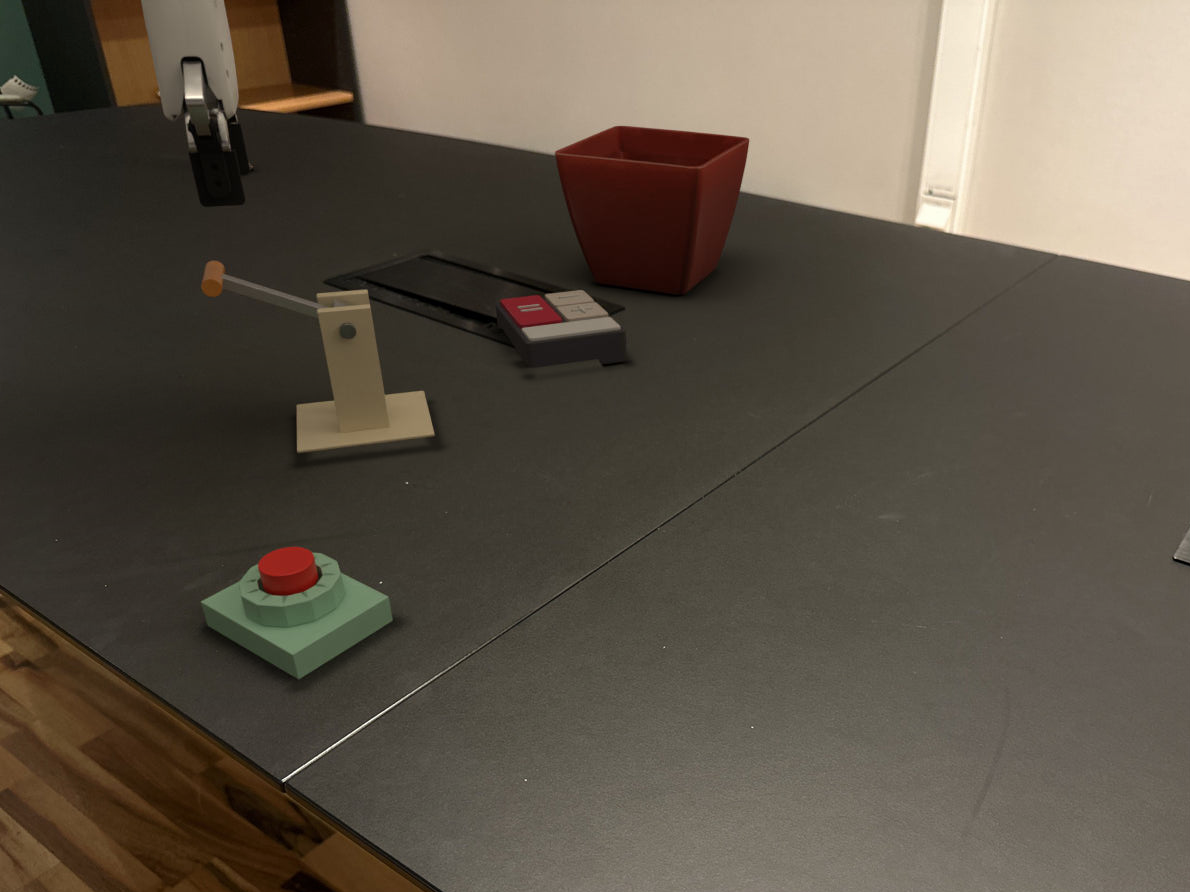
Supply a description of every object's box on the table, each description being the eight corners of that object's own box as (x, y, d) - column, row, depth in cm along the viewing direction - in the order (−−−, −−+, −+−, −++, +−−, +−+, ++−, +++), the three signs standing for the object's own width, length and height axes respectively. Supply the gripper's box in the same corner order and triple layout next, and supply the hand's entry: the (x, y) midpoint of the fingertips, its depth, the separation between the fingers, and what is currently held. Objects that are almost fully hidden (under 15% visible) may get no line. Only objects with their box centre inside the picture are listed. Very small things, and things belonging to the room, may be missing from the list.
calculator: (585, 286, 125) (626, 323, 113) (587, 321, 127) (628, 361, 115) (493, 296, 121) (526, 336, 109) (497, 332, 123) (529, 375, 111)
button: (252, 585, 72) (246, 563, 71) (296, 561, 74) (291, 540, 74) (285, 603, 70) (280, 581, 69) (329, 578, 73) (325, 557, 72)
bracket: (299, 462, 94) (269, 327, 87) (298, 415, 102) (271, 287, 95) (436, 445, 98) (418, 313, 91) (425, 401, 105) (407, 276, 99)
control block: (207, 626, 74) (193, 580, 72) (303, 574, 79) (292, 530, 77) (298, 680, 69) (286, 632, 67) (393, 621, 75) (385, 575, 73)
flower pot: (620, 247, 150) (616, 122, 141) (747, 264, 145) (752, 136, 135) (559, 288, 134) (550, 151, 125) (698, 309, 129) (700, 168, 120)
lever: (197, 298, 87) (204, 271, 86) (202, 279, 91) (208, 253, 90) (359, 347, 93) (367, 322, 92) (357, 326, 97) (364, 303, 96)
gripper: (131, -62, 81) (185, 166, 91) (97, -46, 68) (165, 221, 77) (235, -61, 84) (278, 162, 93) (223, -45, 70) (275, 215, 79)
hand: (227, 189), depth 85 cm, fingers open, 9 cm apart
